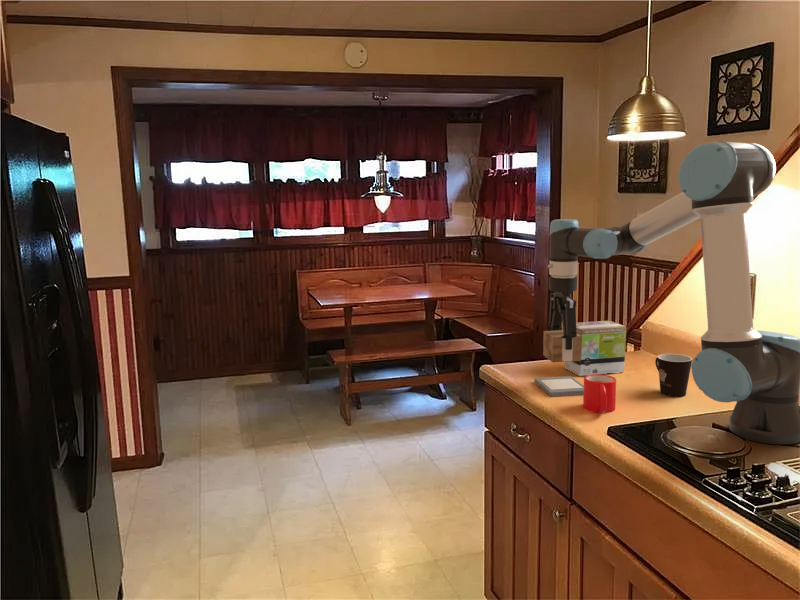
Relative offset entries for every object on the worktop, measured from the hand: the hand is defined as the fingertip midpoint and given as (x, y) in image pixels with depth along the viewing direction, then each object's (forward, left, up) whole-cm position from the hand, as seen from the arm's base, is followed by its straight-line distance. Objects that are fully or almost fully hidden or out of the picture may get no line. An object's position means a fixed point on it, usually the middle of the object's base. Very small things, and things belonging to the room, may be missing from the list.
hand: (561, 356), depth 185 cm
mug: (-20, -3, -9) cm, 22 cm away
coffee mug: (-9, -28, -9) cm, 31 cm away
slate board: (0, 0, -9) cm, 9 cm away
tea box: (+15, -16, -9) cm, 24 cm away
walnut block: (0, 0, 0) cm, 0 cm away
